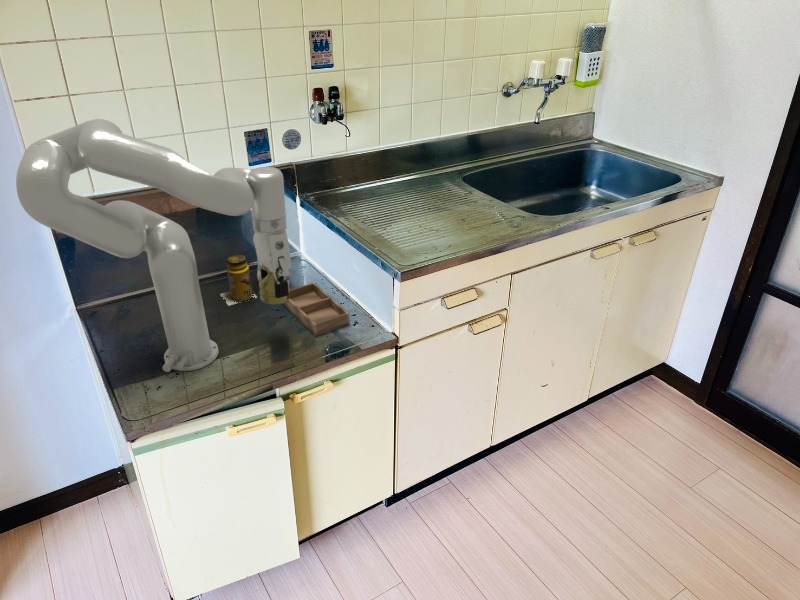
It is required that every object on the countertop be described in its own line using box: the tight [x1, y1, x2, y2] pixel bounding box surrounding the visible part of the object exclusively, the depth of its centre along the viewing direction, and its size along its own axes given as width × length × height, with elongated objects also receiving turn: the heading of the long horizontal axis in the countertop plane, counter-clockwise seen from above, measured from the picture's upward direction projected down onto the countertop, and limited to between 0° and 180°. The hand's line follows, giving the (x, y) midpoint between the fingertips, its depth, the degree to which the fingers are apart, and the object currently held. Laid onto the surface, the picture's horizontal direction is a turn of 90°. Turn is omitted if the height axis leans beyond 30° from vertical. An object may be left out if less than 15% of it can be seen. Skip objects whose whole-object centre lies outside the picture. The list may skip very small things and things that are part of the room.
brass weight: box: [258, 265, 291, 305], centre depth 145 cm, size 7×7×10 cm
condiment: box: [219, 254, 258, 307], centre depth 168 cm, size 7×8×12 cm
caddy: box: [282, 282, 351, 337], centre depth 163 cm, size 20×10×4 cm, turn 35°
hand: (274, 288), depth 147 cm, fingers closed on brass weight, 7 cm apart
